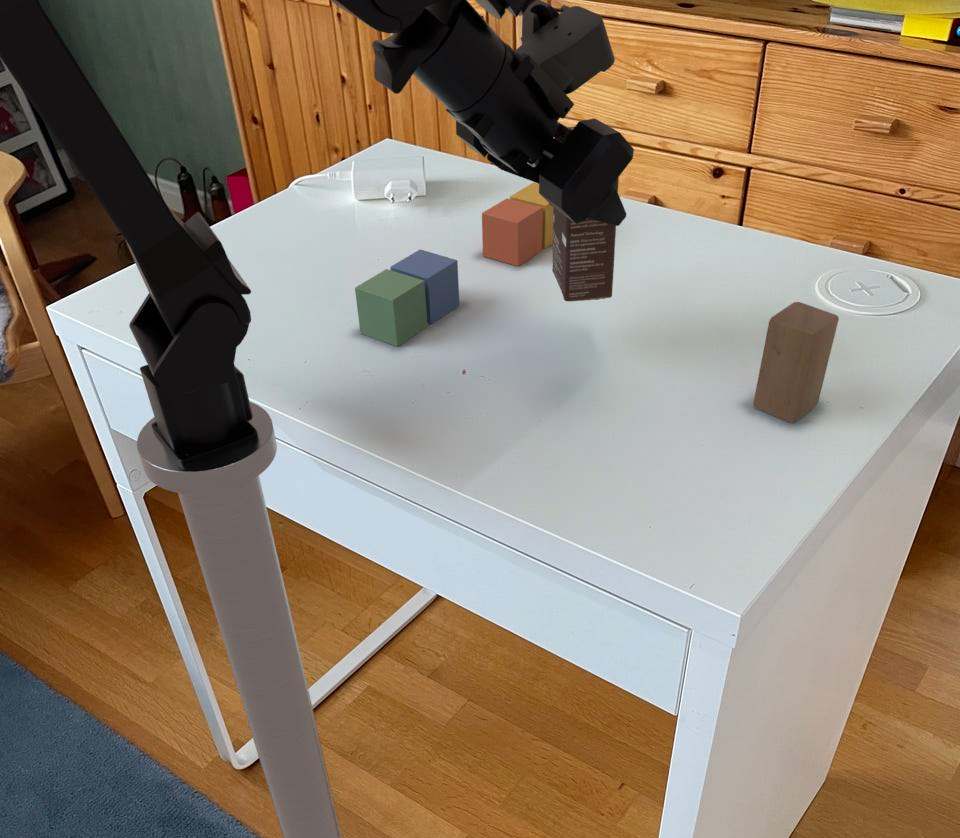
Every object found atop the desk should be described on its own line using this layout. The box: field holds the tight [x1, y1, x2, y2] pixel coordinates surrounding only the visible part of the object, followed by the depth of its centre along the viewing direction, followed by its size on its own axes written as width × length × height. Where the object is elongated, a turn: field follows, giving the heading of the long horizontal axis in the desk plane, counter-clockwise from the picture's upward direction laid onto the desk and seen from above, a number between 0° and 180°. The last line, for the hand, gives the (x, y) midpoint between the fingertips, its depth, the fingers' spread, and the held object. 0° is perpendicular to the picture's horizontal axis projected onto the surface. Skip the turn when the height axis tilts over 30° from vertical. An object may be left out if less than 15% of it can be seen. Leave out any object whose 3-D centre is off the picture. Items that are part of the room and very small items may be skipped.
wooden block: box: [752, 301, 840, 424], centre depth 78 cm, size 4×4×8 cm
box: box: [551, 126, 620, 302], centre depth 80 cm, size 6×4×12 cm
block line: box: [354, 181, 553, 347], centre depth 97 cm, size 29×4×4 cm, turn 144°
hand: (599, 205), depth 80 cm, fingers closed on box, 7 cm apart
